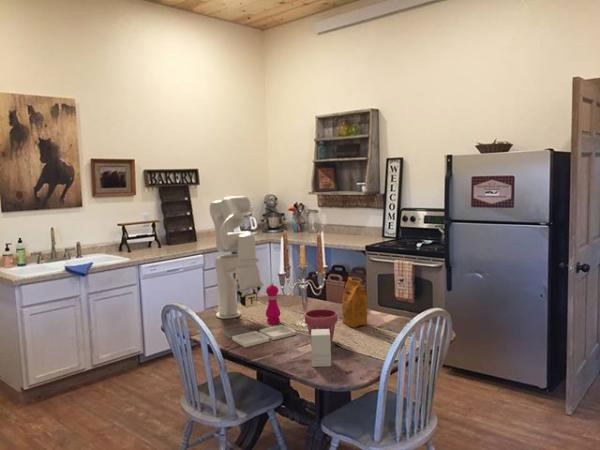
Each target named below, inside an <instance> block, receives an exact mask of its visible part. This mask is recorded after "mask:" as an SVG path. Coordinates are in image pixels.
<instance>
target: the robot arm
mask: <svg viewBox="0 0 600 450" xmlns="http://www.w3.org/2000/svg"><path fill="white" fill-rule="evenodd" d="M251 206H252V205H251V201H250V199H249V197H247V196H244V195H240V196H239V195H238V196H226V197H224V198H222V199H218V200H215V201H212V202H210V204H209V214H210V218H211V219H212V222H213V225H214V232H215V234H214V235H215V245H216V250H217V251H218V252H219V253H233V252H237V253H235V254H234V253H233V254H223V255H219V256H217V257H216V258H215V259H214V269H215V273H216V280H217V281H216V282H217V283H216V284H217V299H218V300H217V301H218V307H217V308H218V311H217V312H216V313H215V316H216V318H218V319H223V320H224V319H225V320H226V319H235V318H238V317H240V316H241V314H242V312H241V311H239V310H238V296H239V302H240V303H239V304H240V305H241V306H242V305H244V306H245V305H246V304H245V296H244V294H245V293H246V290H249V289H250V290H252V291H251V292H252V293H254V294H256V295H257V296H258V294H259V292H260V290H261V289H262V287H264V283H263V282H262V281H261V279H260V278H261V277H260V271H259V267H258V264H257V263H258V262H259V258H256V237H255V235H254V234H253V232H251V231H236V232H235V231H234V230H235V229H237V228H239V227H240V226H241V225H242V224H243V223H244V216H245V215H247V214H249V213H250V211H251V210H252V209H251V208H252V207H251ZM233 231H234V232H233ZM231 274H235V278H234V276H232V275H231ZM244 306H243V307H244Z"/></svg>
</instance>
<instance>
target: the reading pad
mask: <svg viewBox="0 0 600 450" xmlns="http://www.w3.org/2000/svg"><path fill="white" fill-rule="evenodd" d="M249 332H253V331H252V330H250V329H248V328H246V327H243V326H239V327H236V328H231V329H228V330H223V331H219V333H220V334H221V335H223V336H224V337H226V338H228V339H232V336H236V335H240V334H244V333H249Z"/></svg>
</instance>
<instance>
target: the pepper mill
mask: <svg viewBox="0 0 600 450" xmlns="http://www.w3.org/2000/svg"><path fill="white" fill-rule="evenodd" d="M265 293H266V296H267V297H266V298H267V300H268V305H267V307H266V309H265V317H266V318H267V319H266V322H267V323H268V324H272V325H277V324H279V323H280V322H281V320H280V319H281V318H280V316H281V310H280V307H279V305H278V302H277V301H278V293H279V288H278V287H277V286H276V285H275V284H274V282H270V283H269V285H268V286H267V287H266V289H265Z"/></svg>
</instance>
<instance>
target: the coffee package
mask: <svg viewBox="0 0 600 450" xmlns="http://www.w3.org/2000/svg"><path fill="white" fill-rule="evenodd" d="M362 284H363V281H361V280H355V279H354V280H353V278H352V277H351V276H348V277H347V280H346V283H345V286H344V287H345V288H344V290H343V294H342V304H341V312H342V315H341V316H342V317H341V318H342V323H343V324H345V325H346V326H348V327H350V328H357V327H360V326H364V325H365V326H366V325H367V324H368V296H367V293H366V291H365V289H364V287H363V286H362Z"/></svg>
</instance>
